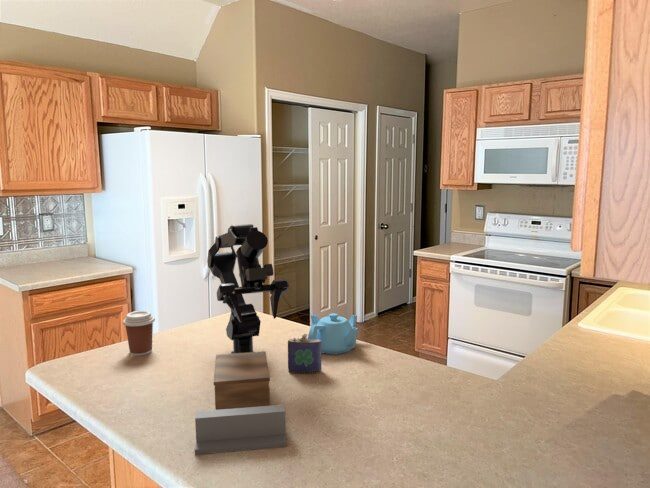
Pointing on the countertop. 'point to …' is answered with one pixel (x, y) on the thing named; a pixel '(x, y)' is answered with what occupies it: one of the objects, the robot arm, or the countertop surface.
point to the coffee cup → (139, 332)
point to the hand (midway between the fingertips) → (258, 320)
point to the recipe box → (241, 380)
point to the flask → (304, 355)
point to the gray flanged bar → (240, 429)
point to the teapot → (334, 333)
